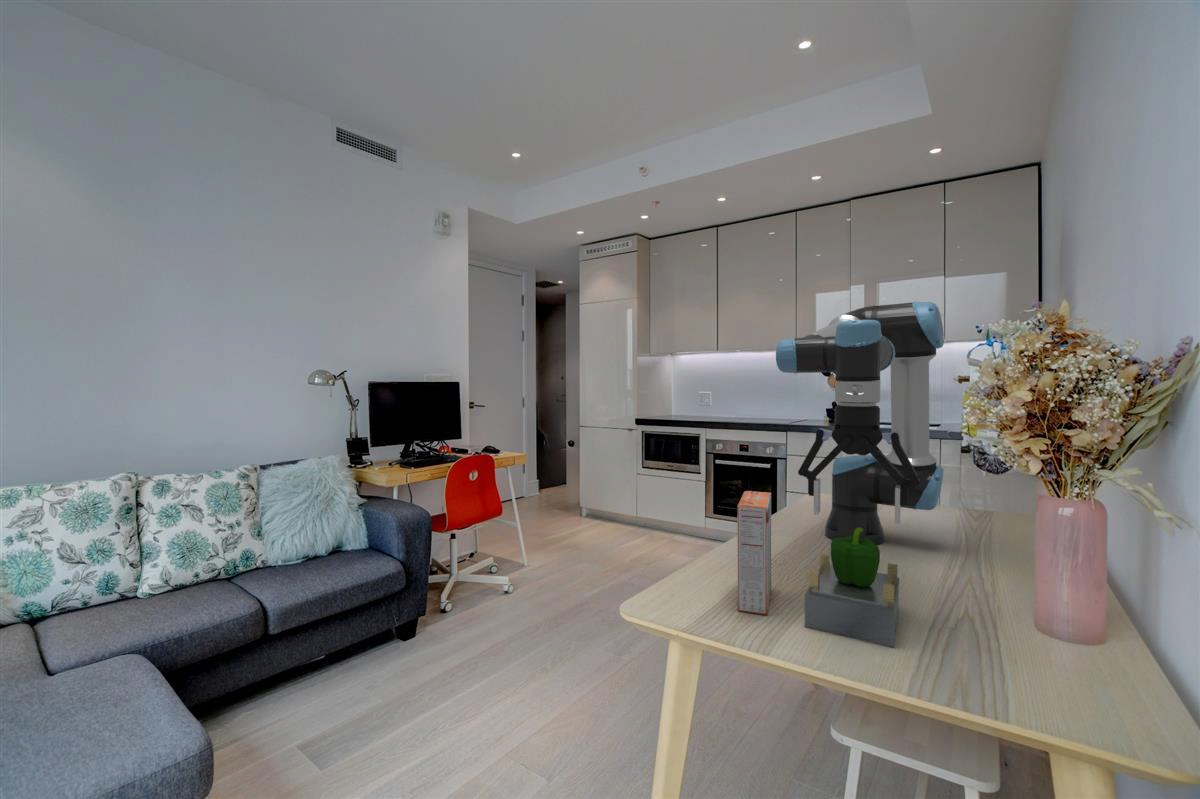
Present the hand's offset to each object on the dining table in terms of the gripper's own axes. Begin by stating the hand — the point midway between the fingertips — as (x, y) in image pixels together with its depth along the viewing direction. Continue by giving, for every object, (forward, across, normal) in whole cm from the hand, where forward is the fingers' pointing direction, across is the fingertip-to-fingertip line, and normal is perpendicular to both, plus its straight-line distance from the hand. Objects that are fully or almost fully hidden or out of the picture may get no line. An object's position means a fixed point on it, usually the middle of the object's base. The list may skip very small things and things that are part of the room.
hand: (855, 517), depth 98 cm
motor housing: (+19, 0, +1) cm, 19 cm away
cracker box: (+19, -18, -3) cm, 26 cm away
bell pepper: (+12, 0, -1) cm, 12 cm away
